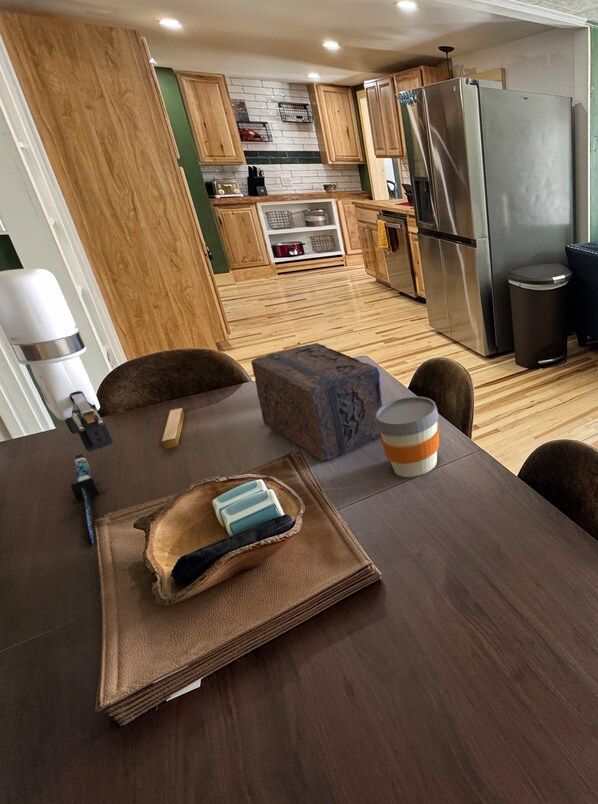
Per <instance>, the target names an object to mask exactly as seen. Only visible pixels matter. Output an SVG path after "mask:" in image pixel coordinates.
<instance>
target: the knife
mask: <svg viewBox="0 0 598 804" xmlns="http://www.w3.org/2000/svg"><path fill="white" fill-rule="evenodd" d="M73 463H74V466H75V472H76V473H75V474H76V479H77V481H76V482H73V483H71V484H70V488H71V491H72V492H73V494H74V496H75V498H76V500H77V502H81V501H84V508H85V515H86V516H85V517H86V524H87V530H88V535H89V537H90V541H91V543H92V544H94V525H93V506H92V500H91V498H93V497H97V496H100V492H99V489H98V487H97V485H96V482H95V480H94V478H92V474H91V469H90V468H91V467H90V464H89V462H88V460H87V458H86V457H85V456H84V455H82V454H81V453H79V454H78V455H75V457H74V462H73Z"/></svg>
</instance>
